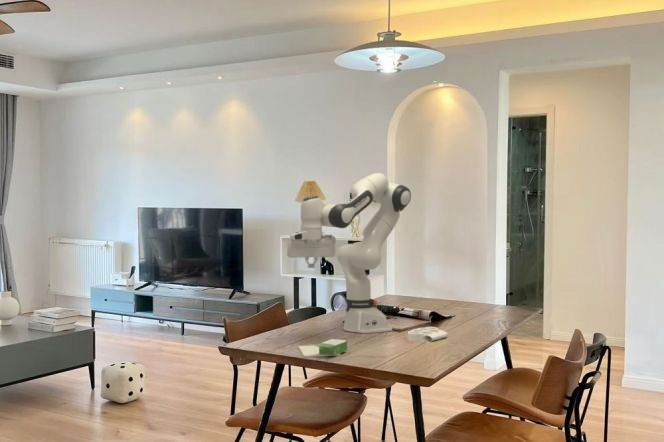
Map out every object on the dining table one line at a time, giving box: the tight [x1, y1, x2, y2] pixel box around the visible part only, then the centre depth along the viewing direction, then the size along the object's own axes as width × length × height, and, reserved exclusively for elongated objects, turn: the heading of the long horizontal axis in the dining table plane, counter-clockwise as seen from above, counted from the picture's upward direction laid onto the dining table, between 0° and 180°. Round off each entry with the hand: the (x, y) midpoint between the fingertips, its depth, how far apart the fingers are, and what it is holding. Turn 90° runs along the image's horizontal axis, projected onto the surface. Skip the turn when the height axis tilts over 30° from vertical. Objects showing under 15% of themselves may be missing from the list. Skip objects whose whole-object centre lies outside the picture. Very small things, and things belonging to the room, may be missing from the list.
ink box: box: [315, 338, 348, 355], centre depth 253 cm, size 7×4×13 cm
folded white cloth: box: [407, 326, 449, 343], centre depth 284 cm, size 3×18×15 cm
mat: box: [297, 344, 341, 358], centre depth 258 cm, size 14×16×1 cm
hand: (311, 267), depth 275 cm, fingers closed
